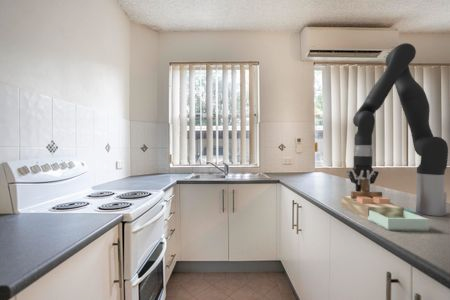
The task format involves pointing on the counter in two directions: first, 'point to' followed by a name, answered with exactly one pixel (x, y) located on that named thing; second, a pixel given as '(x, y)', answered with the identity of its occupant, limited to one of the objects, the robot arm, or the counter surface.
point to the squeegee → (412, 212)
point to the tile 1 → (365, 200)
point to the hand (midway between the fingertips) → (362, 192)
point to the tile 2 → (381, 200)
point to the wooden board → (371, 208)
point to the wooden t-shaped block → (365, 191)
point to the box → (400, 222)
